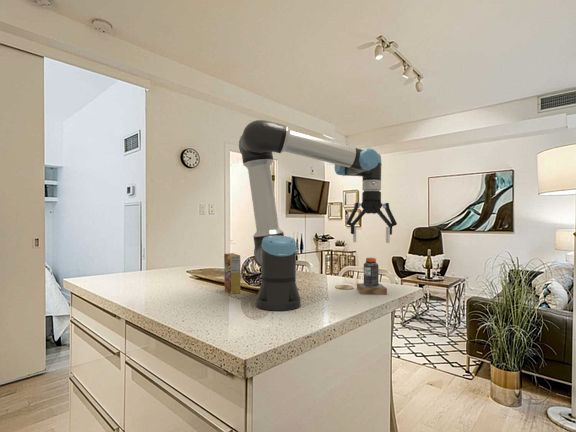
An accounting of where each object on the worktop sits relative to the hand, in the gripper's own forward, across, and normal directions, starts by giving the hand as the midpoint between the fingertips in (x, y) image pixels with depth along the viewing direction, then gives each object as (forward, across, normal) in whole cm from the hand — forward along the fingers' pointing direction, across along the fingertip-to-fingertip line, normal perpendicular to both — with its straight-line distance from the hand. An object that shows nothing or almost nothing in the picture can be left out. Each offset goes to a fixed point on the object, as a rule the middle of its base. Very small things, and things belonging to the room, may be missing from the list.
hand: (371, 242), depth 136 cm
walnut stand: (+20, 0, 0) cm, 20 cm away
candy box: (+21, -57, -3) cm, 61 cm away
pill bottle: (+18, 0, 0) cm, 18 cm away
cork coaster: (+20, -10, +8) cm, 24 cm away
